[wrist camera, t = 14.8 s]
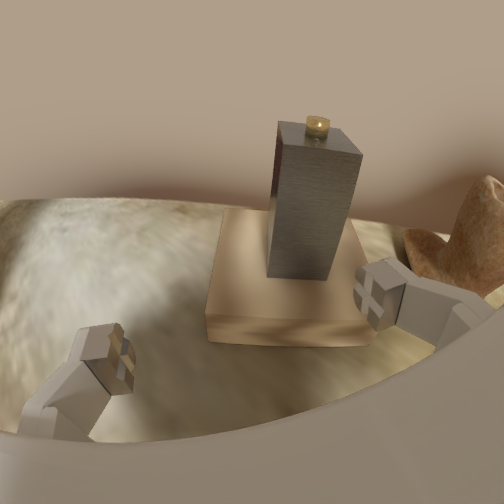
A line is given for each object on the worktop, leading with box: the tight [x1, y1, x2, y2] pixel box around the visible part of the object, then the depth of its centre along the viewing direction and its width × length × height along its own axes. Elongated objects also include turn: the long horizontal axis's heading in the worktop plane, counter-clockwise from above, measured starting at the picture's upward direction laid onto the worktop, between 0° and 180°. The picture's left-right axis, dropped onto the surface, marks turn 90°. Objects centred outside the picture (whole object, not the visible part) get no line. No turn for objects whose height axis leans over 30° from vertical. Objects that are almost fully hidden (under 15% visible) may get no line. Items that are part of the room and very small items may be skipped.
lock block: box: [267, 116, 363, 281], centre depth 21 cm, size 5×6×12 cm
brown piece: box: [402, 175, 504, 300], centre depth 23 cm, size 15×12×15 cm
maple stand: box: [205, 208, 379, 347], centre depth 26 cm, size 14×14×4 cm
